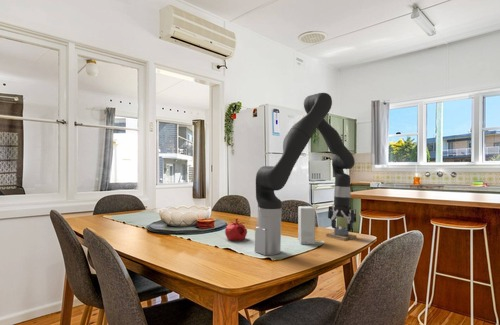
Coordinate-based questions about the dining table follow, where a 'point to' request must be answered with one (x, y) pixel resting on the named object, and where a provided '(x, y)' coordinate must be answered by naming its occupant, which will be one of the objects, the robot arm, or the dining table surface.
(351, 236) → the piston stand
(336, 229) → the steel ring
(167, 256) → the dining table surface
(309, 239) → the skincare box
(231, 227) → the pomegranate
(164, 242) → the dining table surface
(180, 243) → the dining table surface
